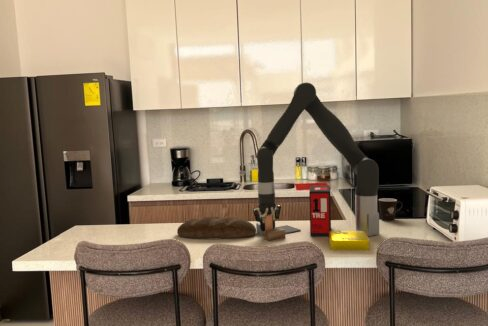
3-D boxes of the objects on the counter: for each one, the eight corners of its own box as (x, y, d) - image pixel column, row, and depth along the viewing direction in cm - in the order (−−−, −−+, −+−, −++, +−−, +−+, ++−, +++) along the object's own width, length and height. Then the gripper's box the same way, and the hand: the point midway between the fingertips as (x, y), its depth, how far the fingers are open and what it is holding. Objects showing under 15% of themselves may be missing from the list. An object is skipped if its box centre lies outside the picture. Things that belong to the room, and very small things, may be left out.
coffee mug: (378, 221, 204) (378, 201, 203) (378, 217, 212) (378, 198, 211) (404, 222, 200) (404, 201, 199) (402, 218, 209) (402, 198, 208)
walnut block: (285, 238, 180) (285, 229, 179) (269, 241, 176) (269, 232, 176) (280, 236, 183) (280, 227, 183) (264, 239, 180) (264, 230, 179)
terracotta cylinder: (274, 232, 184) (274, 215, 183) (266, 234, 182) (265, 216, 181) (269, 230, 188) (268, 213, 187) (261, 232, 186) (260, 214, 185)
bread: (182, 231, 200) (181, 214, 199) (257, 231, 195) (257, 213, 194) (173, 240, 184) (172, 221, 184) (254, 240, 179) (253, 221, 179)
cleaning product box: (311, 227, 197) (311, 185, 195) (330, 227, 195) (330, 185, 194) (310, 236, 181) (309, 191, 179) (331, 237, 179) (330, 191, 178)
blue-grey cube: (269, 233, 189) (269, 223, 189) (260, 234, 187) (259, 224, 187) (265, 231, 193) (265, 221, 193) (256, 232, 192) (256, 222, 191)
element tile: (330, 251, 161) (329, 239, 161) (328, 240, 176) (328, 229, 176) (370, 251, 159) (370, 239, 158) (365, 240, 173) (365, 229, 173)
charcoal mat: (300, 231, 191) (300, 229, 191) (284, 234, 186) (284, 232, 186) (286, 226, 200) (286, 225, 200) (271, 229, 196) (271, 227, 196)
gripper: (257, 195, 176) (258, 234, 178) (284, 191, 183) (286, 229, 185) (248, 192, 183) (249, 230, 185) (275, 189, 190) (276, 225, 191)
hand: (267, 229), depth 185 cm, fingers closed on terracotta cylinder, 4 cm apart
